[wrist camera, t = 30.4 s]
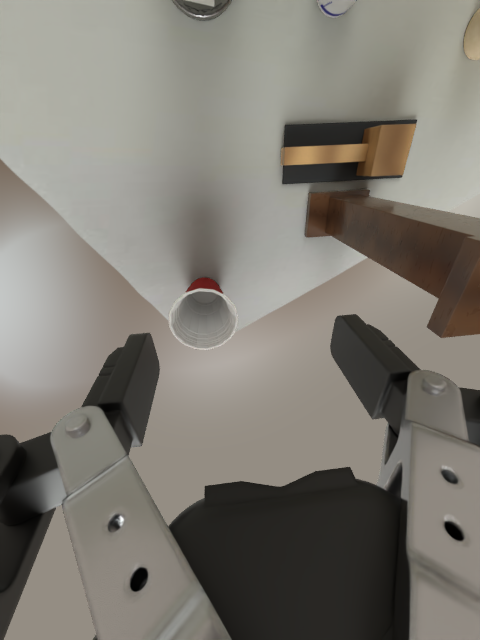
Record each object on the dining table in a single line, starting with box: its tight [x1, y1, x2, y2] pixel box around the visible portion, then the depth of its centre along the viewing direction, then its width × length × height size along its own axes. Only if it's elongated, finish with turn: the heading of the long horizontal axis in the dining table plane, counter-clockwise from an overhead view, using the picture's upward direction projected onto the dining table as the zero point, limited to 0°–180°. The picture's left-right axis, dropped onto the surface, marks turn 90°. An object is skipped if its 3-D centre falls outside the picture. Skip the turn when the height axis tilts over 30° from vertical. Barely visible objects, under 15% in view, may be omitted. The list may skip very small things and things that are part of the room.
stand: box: [305, 189, 480, 338], centre depth 30 cm, size 7×10×32 cm
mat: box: [282, 120, 417, 184], centre depth 39 cm, size 8×20×1 cm, turn 92°
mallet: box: [281, 124, 416, 177], centre depth 36 cm, size 18×6×4 cm, turn 92°
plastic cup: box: [169, 278, 238, 350], centre depth 44 cm, size 11×11×12 cm
